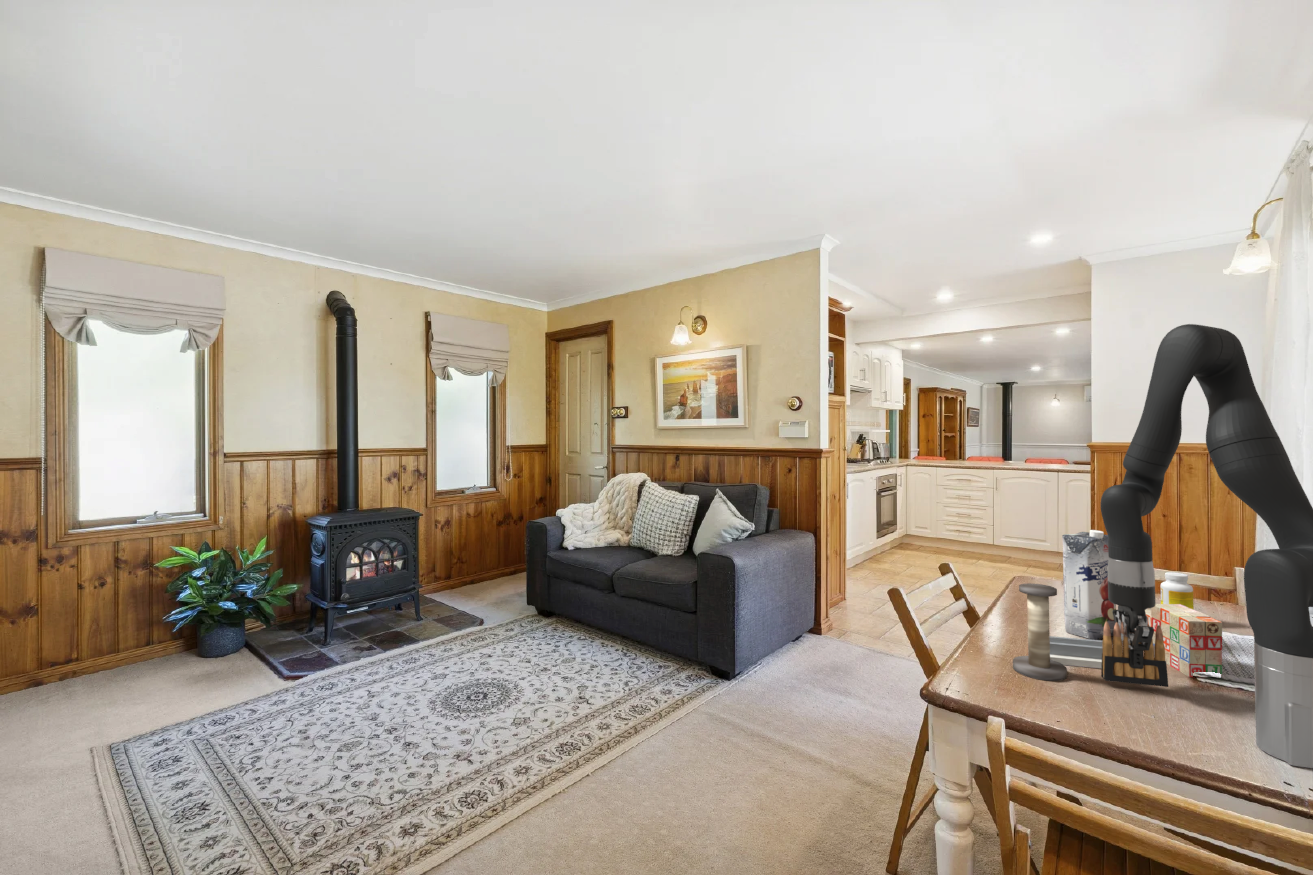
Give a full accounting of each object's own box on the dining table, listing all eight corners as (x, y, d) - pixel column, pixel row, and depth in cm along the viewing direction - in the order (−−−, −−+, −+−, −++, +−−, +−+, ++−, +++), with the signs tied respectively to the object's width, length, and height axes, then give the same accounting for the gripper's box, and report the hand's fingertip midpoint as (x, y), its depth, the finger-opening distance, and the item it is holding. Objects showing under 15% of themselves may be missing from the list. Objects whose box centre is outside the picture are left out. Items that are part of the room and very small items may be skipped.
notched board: (1126, 671, 127) (1125, 652, 127) (1045, 663, 132) (1045, 645, 132) (1110, 655, 135) (1110, 638, 135) (1035, 648, 141) (1035, 632, 141)
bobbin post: (1073, 683, 121) (1071, 595, 121) (1018, 677, 125) (1016, 591, 125) (1059, 665, 131) (1057, 583, 131) (1008, 660, 134) (1006, 580, 134)
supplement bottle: (1201, 624, 154) (1200, 576, 154) (1176, 625, 154) (1175, 577, 154) (1178, 616, 161) (1177, 570, 161) (1154, 617, 161) (1153, 571, 161)
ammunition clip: (1104, 680, 120) (1102, 622, 120) (1101, 677, 122) (1099, 619, 122) (1168, 686, 116) (1167, 626, 116) (1164, 683, 118) (1162, 624, 118)
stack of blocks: (1127, 641, 144) (1126, 592, 144) (1155, 642, 143) (1154, 592, 143) (1189, 677, 123) (1188, 619, 123) (1223, 679, 122) (1222, 620, 122)
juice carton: (1059, 632, 152) (1057, 528, 151) (1084, 625, 156) (1081, 525, 156) (1096, 643, 143) (1094, 534, 143) (1121, 636, 148) (1119, 530, 147)
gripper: (1170, 590, 111) (1173, 681, 111) (1138, 574, 124) (1140, 655, 124) (1122, 588, 114) (1125, 676, 114) (1096, 572, 127) (1098, 652, 127)
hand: (1133, 665), depth 119 cm, fingers closed on ammunition clip, 2 cm apart
